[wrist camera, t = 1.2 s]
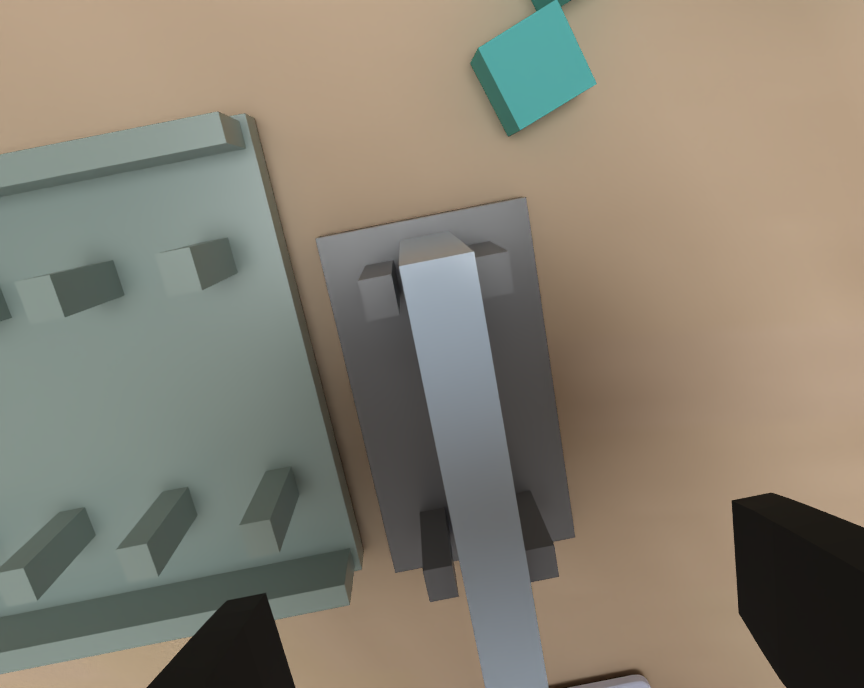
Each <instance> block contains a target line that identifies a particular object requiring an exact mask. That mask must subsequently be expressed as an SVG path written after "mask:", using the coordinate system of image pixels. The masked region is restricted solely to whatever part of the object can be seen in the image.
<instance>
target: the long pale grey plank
mask: <svg viewBox="0 0 864 688" xmlns="http://www.w3.org/2000/svg"><path fill="white" fill-rule="evenodd" d="M399 269H400V274H401V279H402V284H403V289H404V294H405V299H406V304H407V308H408V313H409V318H410V323H411V328H412V333H413V338H414V343H415V347H416V352H417V357H418V362H419V367H420V372H421V377H422V382H423V386H424V391H425V396H426V401H427V406H428V411H429V416H430V421H431V425H432V430H433V435H434V440H435V445H436V450H437V455H438V460H439V464H440V469H441V474H442V479H443V484H444V489H445V494H446V499H447V503H448V508H449V513H450V518H451V523H452V528H453V533H454V537H455V542H456V547H457V552H458V557H459V562H460V567H461V572H462V576H463V581H464V586H465V591H466V596H467V601H468V606H469V611H470V615H471V620H472V625H473V630H474V635H475V640H476V645H477V650H478V654H479V659H480V664H481V669H482V674H483V679H484V684H485V688H549V687H548V681H547V676H546V670H545V664H544V658H543V652H542V646H541V640H540V635H539V629H538V623H537V617H536V611H535V605H534V599H533V594H532V588H531V582H530V576H529V570H528V564H527V558H526V553H525V547H524V541H523V535H522V529H521V523H520V517H519V512H518V506H517V500H516V494H515V488H514V482H513V476H512V471H511V465H510V459H509V453H508V447H507V441H506V435H505V430H504V424H503V418H502V412H501V406H500V400H499V394H498V389H497V383H496V377H495V371H494V365H493V359H492V353H491V348H490V342H489V336H488V330H487V324H486V318H485V312H484V307H483V301H482V295H481V289H480V283H479V277H478V271H477V266H476V260H475V254H474V251H473V250H472V249H470V248H469V247H468V246H467V245H465V244H464V243H463V242H462V241H460V240H459V239H458V238H457V237H455V236H454V235H453V234H452V233H450V232H449V231H446V232H441V233H436V234H431V235H426V236H421V237H416V238H410V239H405V240H400V250H399Z"/></svg>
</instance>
